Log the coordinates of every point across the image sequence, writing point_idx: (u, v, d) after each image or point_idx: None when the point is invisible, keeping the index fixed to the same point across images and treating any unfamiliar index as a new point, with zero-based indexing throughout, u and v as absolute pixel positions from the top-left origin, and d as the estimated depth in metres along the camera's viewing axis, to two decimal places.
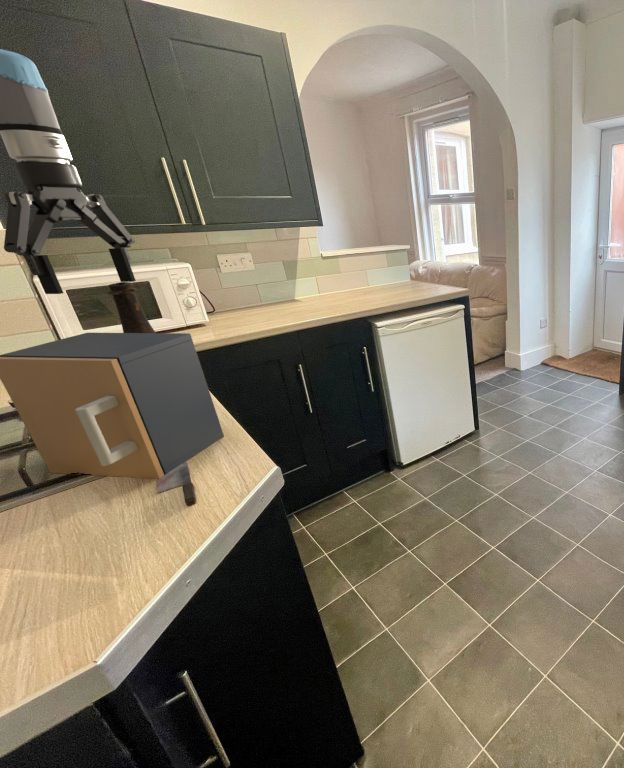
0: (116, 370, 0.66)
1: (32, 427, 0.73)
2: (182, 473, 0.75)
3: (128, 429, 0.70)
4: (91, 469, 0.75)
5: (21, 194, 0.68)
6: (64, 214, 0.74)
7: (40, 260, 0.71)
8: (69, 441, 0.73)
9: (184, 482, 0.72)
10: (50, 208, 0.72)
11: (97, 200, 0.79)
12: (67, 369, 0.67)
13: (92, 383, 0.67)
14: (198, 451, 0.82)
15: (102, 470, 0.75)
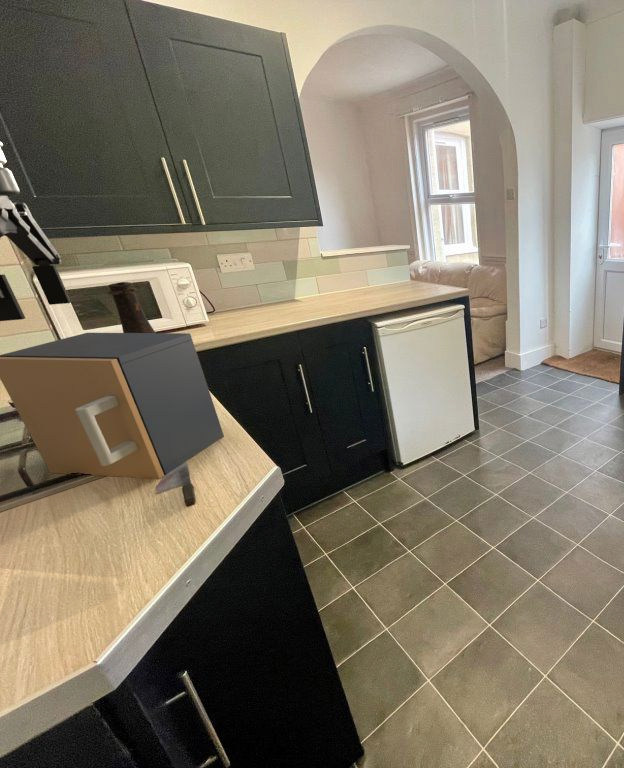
0: (116, 370, 0.66)
1: (32, 427, 0.73)
2: (182, 474, 0.75)
3: (128, 429, 0.70)
4: (91, 469, 0.75)
5: None
6: (4, 226, 0.63)
7: None
8: (69, 441, 0.73)
9: (184, 483, 0.72)
10: None
11: (24, 209, 0.68)
12: (67, 369, 0.67)
13: (92, 383, 0.67)
14: (198, 451, 0.82)
15: (102, 470, 0.75)
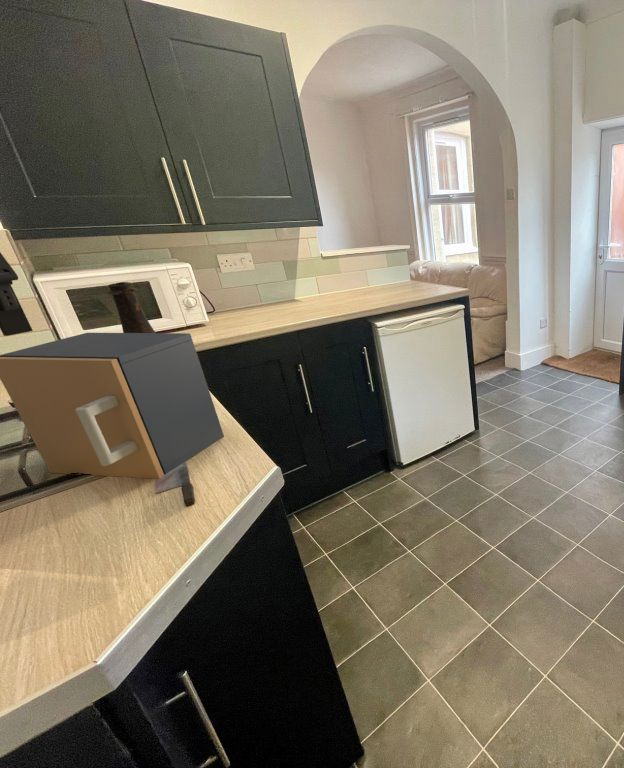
0: (116, 370, 0.66)
1: (32, 427, 0.73)
2: (181, 473, 0.75)
3: (128, 429, 0.70)
4: (91, 469, 0.75)
5: None
6: None
7: None
8: (69, 441, 0.73)
9: (183, 482, 0.72)
10: None
11: None
12: (67, 369, 0.67)
13: (92, 383, 0.67)
14: (198, 451, 0.82)
15: (102, 470, 0.75)
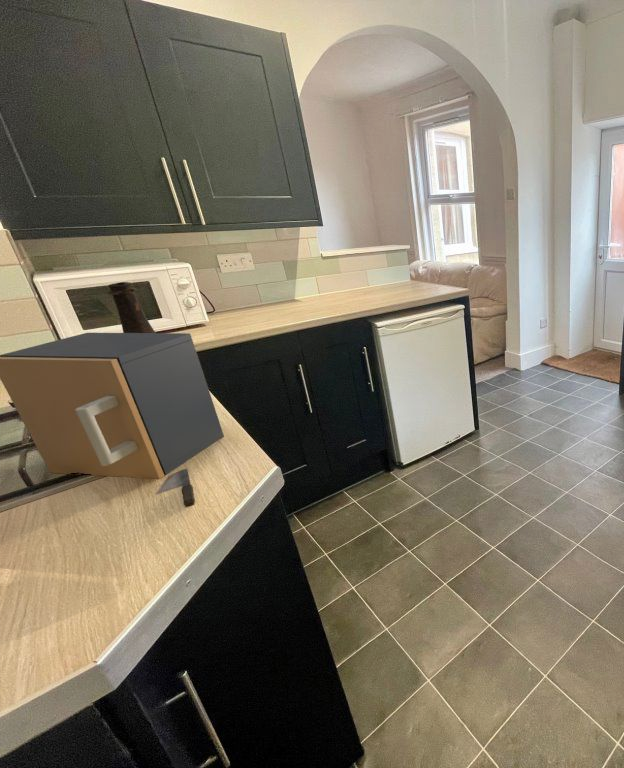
0: (116, 370, 0.66)
1: (32, 427, 0.73)
2: (181, 474, 0.75)
3: (128, 429, 0.70)
4: (91, 469, 0.75)
5: None
6: None
7: None
8: (69, 441, 0.73)
9: (183, 483, 0.72)
10: None
11: None
12: (67, 369, 0.67)
13: (92, 383, 0.67)
14: (198, 451, 0.82)
15: (102, 470, 0.75)
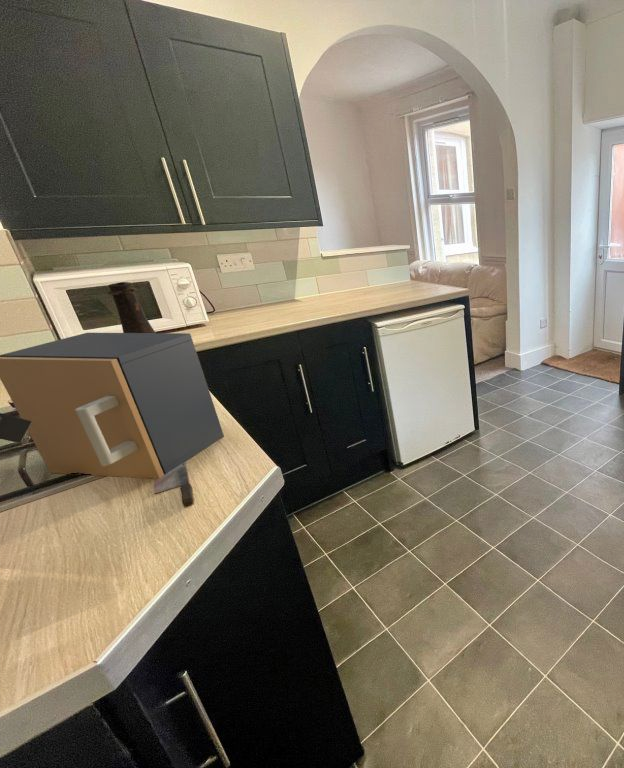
0: (116, 370, 0.66)
1: (32, 427, 0.73)
2: (180, 474, 0.75)
3: (128, 429, 0.70)
4: (91, 469, 0.75)
5: None
6: None
7: None
8: (69, 441, 0.73)
9: (182, 483, 0.72)
10: None
11: None
12: (67, 369, 0.67)
13: (92, 383, 0.67)
14: (198, 451, 0.82)
15: (102, 470, 0.75)
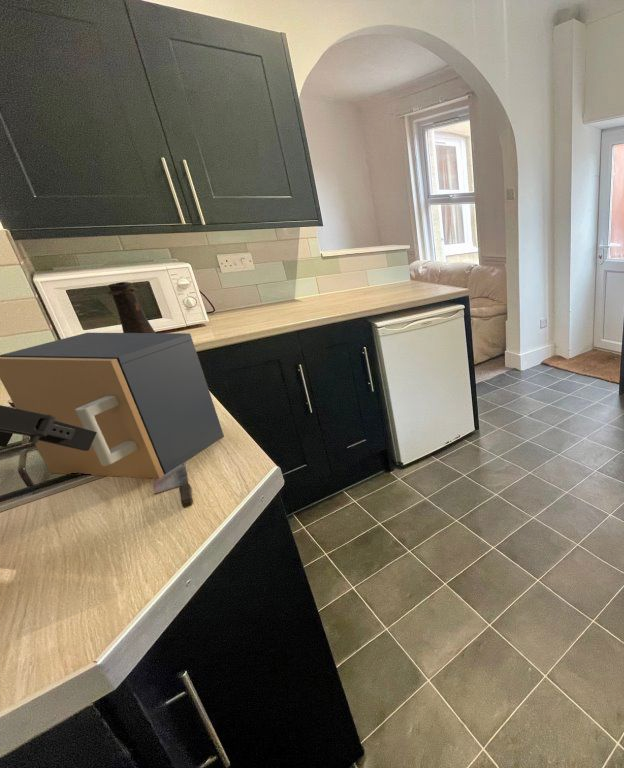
0: (116, 370, 0.66)
1: None
2: (179, 474, 0.75)
3: (128, 429, 0.70)
4: (91, 469, 0.75)
5: None
6: None
7: None
8: None
9: (181, 483, 0.72)
10: None
11: None
12: (67, 369, 0.67)
13: (92, 383, 0.67)
14: (198, 451, 0.82)
15: (102, 470, 0.75)
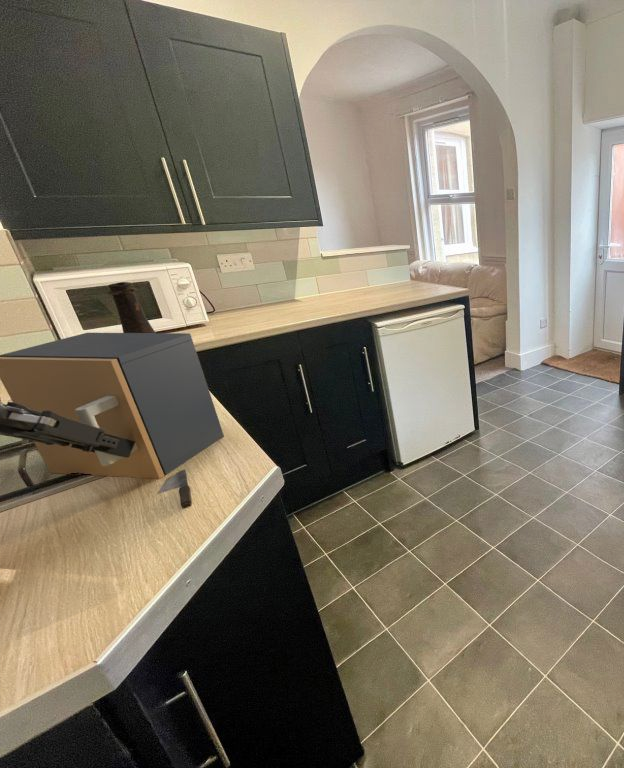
0: (116, 370, 0.66)
1: None
2: (179, 475, 0.75)
3: (128, 429, 0.70)
4: (91, 469, 0.75)
5: (49, 411, 0.55)
6: None
7: None
8: None
9: (181, 485, 0.72)
10: (31, 413, 0.56)
11: None
12: (67, 369, 0.67)
13: (92, 383, 0.67)
14: (198, 451, 0.82)
15: (102, 470, 0.75)
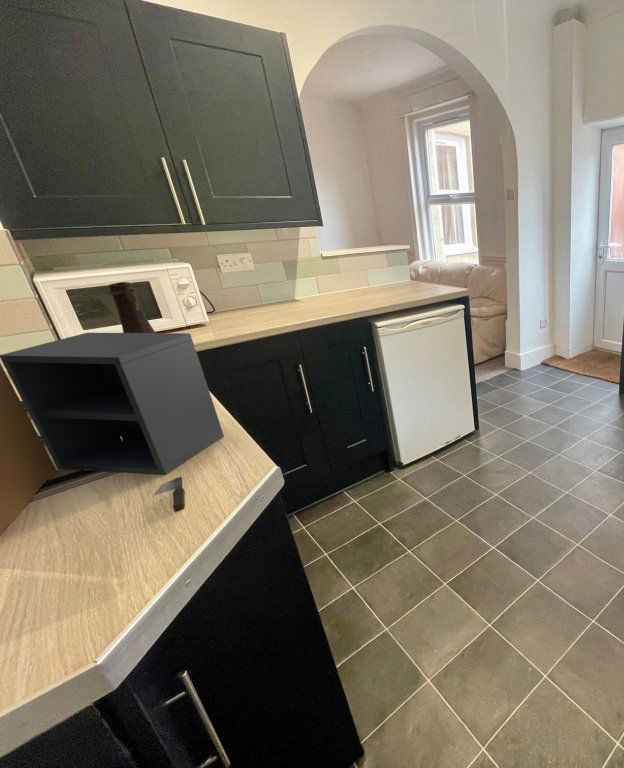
0: None
1: None
2: None
3: None
4: None
5: None
6: None
7: None
8: None
9: (175, 487, 0.71)
10: None
11: None
12: None
13: None
14: (198, 451, 0.82)
15: None
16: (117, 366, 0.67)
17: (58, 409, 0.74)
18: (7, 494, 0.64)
